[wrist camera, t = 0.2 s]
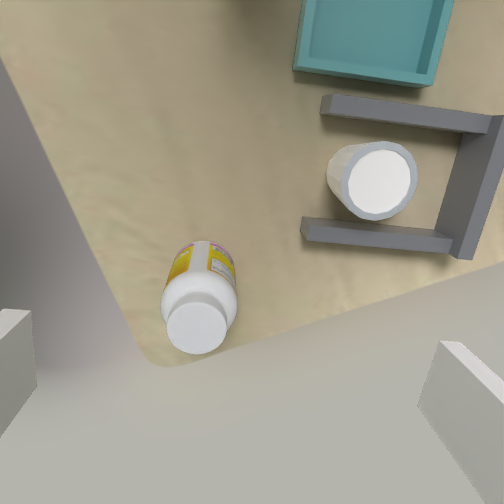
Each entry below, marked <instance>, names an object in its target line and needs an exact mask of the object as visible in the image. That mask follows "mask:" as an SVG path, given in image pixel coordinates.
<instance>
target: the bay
mask: <svg viewBox="0 0 504 504" xmlns="http://www.w3.org/2000/svg"><path fill="white" fill-rule="evenodd" d="M320 114H324V115H332V116H339V117H347V118H354V119H362V120H369V121H377V122H384V123H392V124H399V125H407V126H414V127H422V128H429V129H437V130H444V131H452V132H459V133H463V135H462V138H461V142H460V145H459V148H458V152H457V155H456V158H455V162H454V165H453V169H452V172H451V175H450V179H449V182H448V186H447V189H446V192H445V196H444V199H443V203H442V206H441V209H440V213H439V216H438V219H437V223H436V226H435V230H430V229H420V228H410V227H400V226H390V225H380V224H370V223H360V222H350V221H340V220H331V219H321V218H311V217H302V222H301V228H300V232H301V233H302V234H303V236H304V237H305V238H306V240H307V241H316V242H327V243H338V244H348V245H359V246H370V247H381V248H391V249H402V250H413V251H424V252H434V253H445V254H450V255H452V256H453V257H455V258H457V259H464V260H472V259H473V256H474V253H475V250H476V247H477V244H478V241H479V238H480V236H481V233H482V230H483V227H484V224H485V221H486V218H487V215H488V212H489V209H490V206H491V203H492V200H493V197H494V194H495V191H496V188H497V186H498V183H499V180H500V177H501V174H502V171H503V168H504V115H496V116H491V115H484V114H477V113H470V112H463V111H456V110H448V109H441V108H434V107H427V106H420V105H413V104H406V103H399V102H391V101H384V100H377V99H370V98H363V97H356V96H349V95H342V94H334V93H333V94H329V95H326V96H323V98H322V104H321V110H320Z"/></svg>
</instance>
